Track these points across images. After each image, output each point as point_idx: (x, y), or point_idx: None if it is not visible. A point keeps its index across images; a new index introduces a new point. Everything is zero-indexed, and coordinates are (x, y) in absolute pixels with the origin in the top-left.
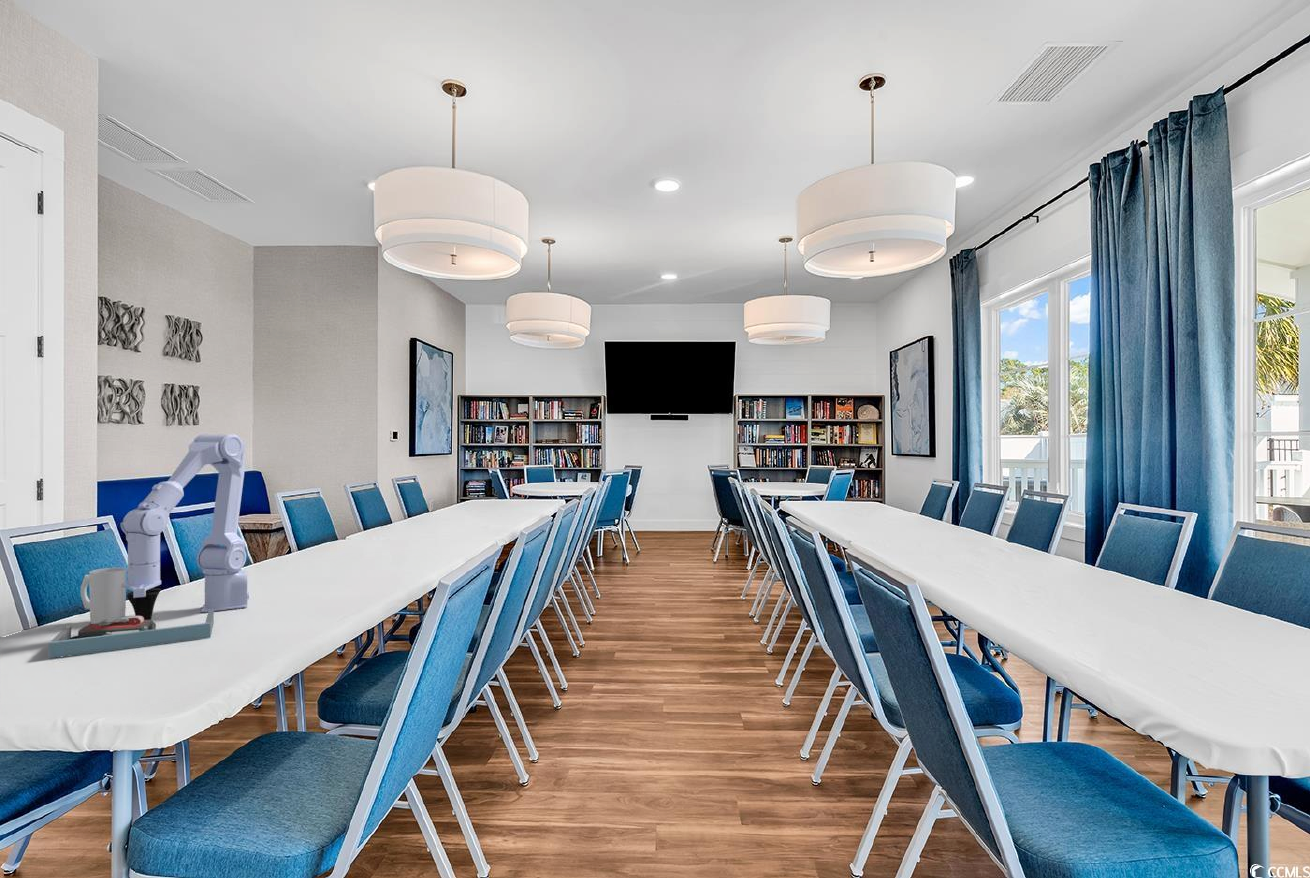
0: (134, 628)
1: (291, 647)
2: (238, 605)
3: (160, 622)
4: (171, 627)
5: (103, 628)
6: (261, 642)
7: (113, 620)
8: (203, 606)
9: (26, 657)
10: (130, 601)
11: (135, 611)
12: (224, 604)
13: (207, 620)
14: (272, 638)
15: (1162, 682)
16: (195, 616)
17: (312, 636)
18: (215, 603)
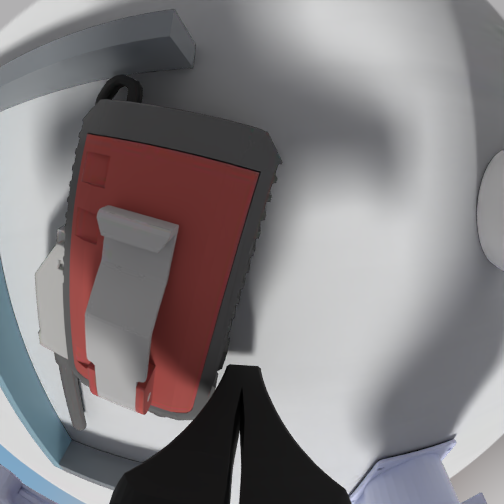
0: (67, 353)
1: (18, 456)
2: (359, 499)
3: (349, 395)
4: (22, 418)
5: (78, 233)
6: (35, 456)
7: (484, 233)
8: (430, 451)
9: (42, 18)
10: (142, 463)
11: (200, 415)
12: (366, 495)
13: (82, 476)
14: (54, 470)
15: None
16: (350, 455)
17: (60, 486)
18: (376, 491)
